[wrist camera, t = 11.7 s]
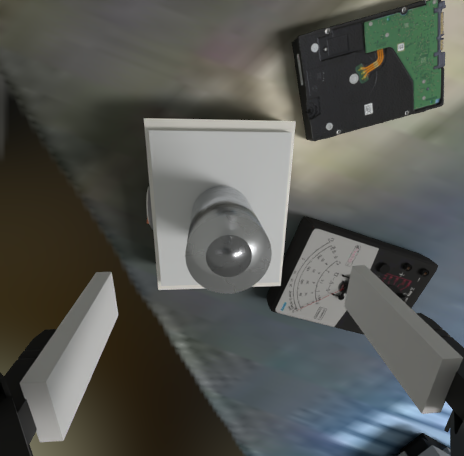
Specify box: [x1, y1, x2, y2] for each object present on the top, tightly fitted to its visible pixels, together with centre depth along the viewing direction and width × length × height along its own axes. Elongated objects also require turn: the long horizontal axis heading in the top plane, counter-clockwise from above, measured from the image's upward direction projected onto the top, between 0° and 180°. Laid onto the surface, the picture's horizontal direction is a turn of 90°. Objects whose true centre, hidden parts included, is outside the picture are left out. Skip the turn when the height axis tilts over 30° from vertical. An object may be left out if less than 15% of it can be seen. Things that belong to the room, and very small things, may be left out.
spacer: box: [185, 186, 272, 294], centre depth 24 cm, size 6×6×10 cm
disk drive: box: [292, 0, 446, 141], centre depth 30 cm, size 10×3×15 cm
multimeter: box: [267, 217, 438, 335], centre depth 38 cm, size 13×19×5 cm
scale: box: [144, 118, 296, 290], centre depth 32 cm, size 18×15×6 cm
